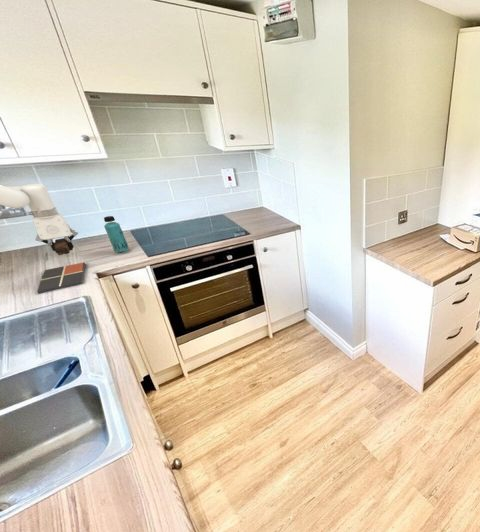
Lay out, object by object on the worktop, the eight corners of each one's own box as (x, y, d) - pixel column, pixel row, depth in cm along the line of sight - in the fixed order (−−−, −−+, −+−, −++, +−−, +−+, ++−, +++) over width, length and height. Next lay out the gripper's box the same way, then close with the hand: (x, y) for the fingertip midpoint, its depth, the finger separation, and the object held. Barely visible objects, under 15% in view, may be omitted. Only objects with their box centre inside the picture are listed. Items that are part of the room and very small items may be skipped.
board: (38, 293, 136) (36, 291, 135) (46, 272, 152) (44, 269, 152) (82, 283, 144) (81, 281, 143) (85, 264, 160) (84, 262, 160)
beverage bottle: (115, 255, 169) (100, 219, 160) (114, 251, 174) (99, 216, 165) (131, 252, 173) (116, 217, 164) (129, 248, 178) (116, 214, 168)
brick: (59, 248, 151) (54, 239, 149) (70, 246, 153) (66, 237, 151) (58, 256, 144) (53, 246, 142) (70, 253, 146) (65, 244, 144)
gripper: (16, 218, 133) (38, 258, 142) (70, 211, 143) (88, 249, 151) (19, 214, 139) (40, 252, 147) (72, 207, 148) (88, 243, 156)
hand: (64, 250), depth 149 cm, fingers closed on brick, 4 cm apart
